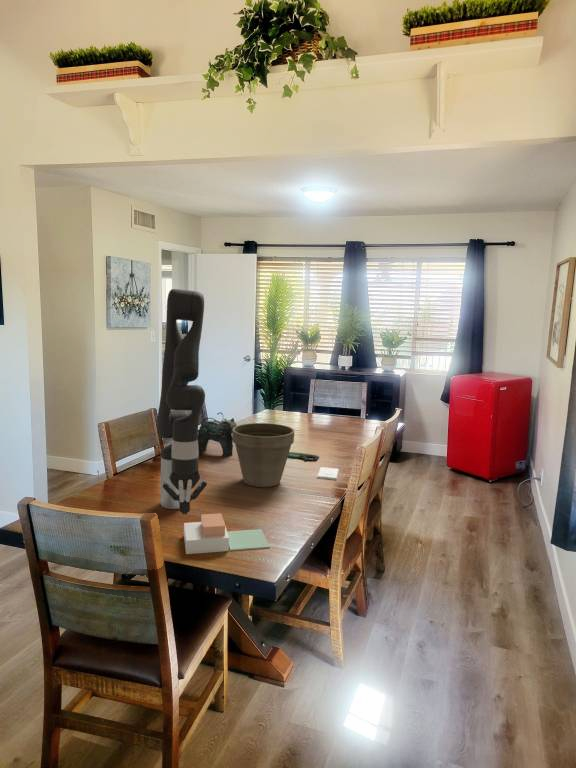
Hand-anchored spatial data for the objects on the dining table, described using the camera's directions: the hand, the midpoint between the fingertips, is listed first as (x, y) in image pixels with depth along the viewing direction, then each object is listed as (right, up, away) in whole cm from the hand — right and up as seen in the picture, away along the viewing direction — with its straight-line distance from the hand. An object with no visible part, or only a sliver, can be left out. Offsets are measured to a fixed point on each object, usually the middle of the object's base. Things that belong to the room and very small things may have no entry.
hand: (184, 513), depth 147 cm
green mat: (+17, -10, +6) cm, 21 cm away
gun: (+36, +2, +94) cm, 101 cm away
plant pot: (+19, -2, +59) cm, 62 cm away
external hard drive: (+47, -2, +71) cm, 85 cm away
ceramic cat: (-5, +4, +95) cm, 95 cm away
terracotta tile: (+8, -4, +3) cm, 9 cm away
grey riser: (+6, -10, +3) cm, 12 cm away
